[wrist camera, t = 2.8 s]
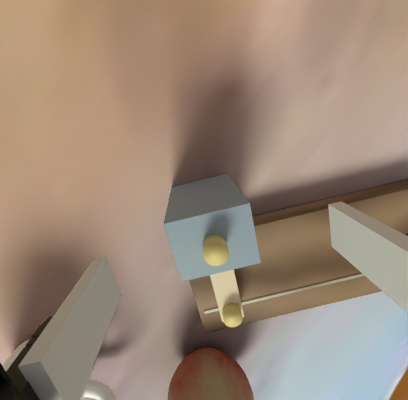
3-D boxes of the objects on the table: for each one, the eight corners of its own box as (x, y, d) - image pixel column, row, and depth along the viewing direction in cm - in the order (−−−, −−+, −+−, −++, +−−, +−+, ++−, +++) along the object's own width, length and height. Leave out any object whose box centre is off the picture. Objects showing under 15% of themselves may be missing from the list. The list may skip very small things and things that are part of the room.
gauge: (171, 187, 22) (161, 233, 13) (227, 173, 22) (255, 210, 13) (203, 297, 25) (211, 390, 17) (250, 285, 25) (284, 373, 17)
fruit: (221, 321, 27) (235, 401, 19) (253, 367, 29) (277, 455, 21) (157, 352, 27) (146, 442, 20) (194, 395, 30) (197, 489, 22)
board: (179, 234, 23) (178, 244, 21) (412, 178, 23) (433, 183, 21) (203, 317, 26) (205, 333, 24) (408, 268, 26) (426, 281, 24)
